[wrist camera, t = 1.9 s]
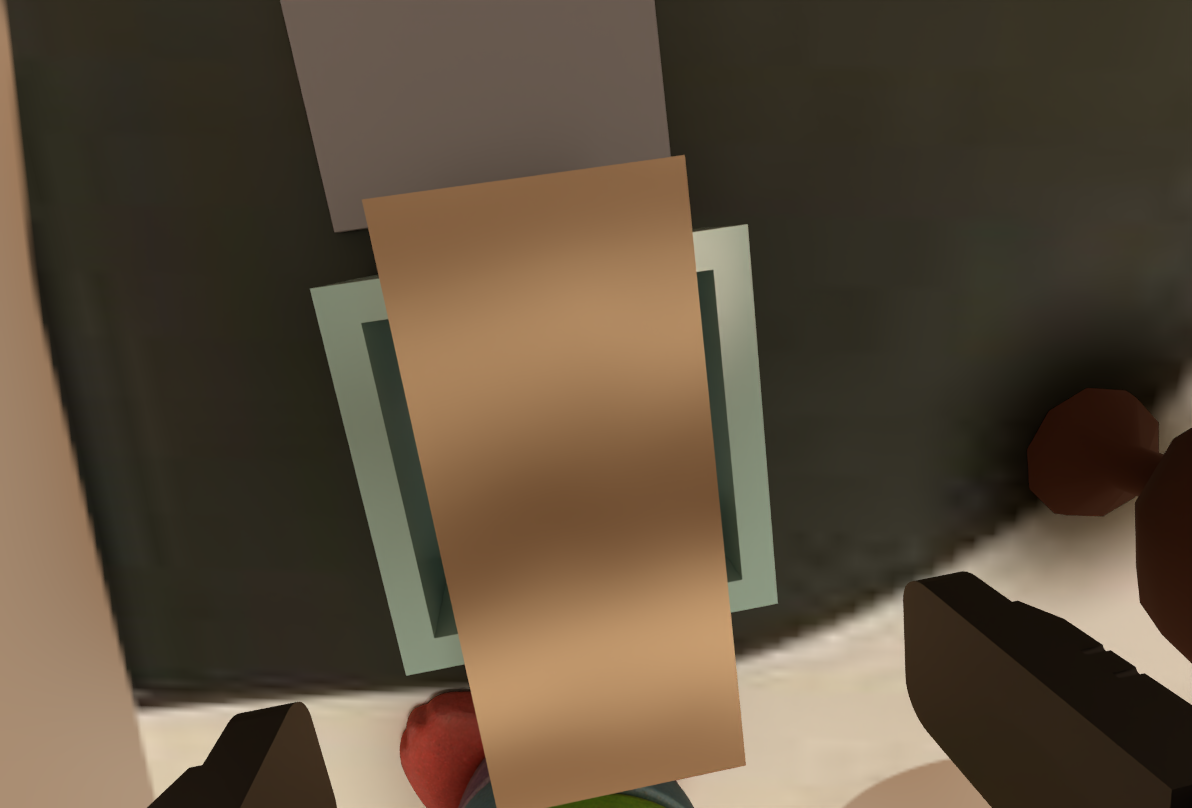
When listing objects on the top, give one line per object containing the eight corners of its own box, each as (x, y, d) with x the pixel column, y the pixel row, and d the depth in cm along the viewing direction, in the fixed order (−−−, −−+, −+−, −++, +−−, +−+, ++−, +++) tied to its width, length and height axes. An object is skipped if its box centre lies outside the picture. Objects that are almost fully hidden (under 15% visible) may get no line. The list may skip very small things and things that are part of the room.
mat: (236, -209, 18) (227, -223, 18) (623, -243, 19) (627, -258, 18) (339, 232, 21) (334, 232, 21) (669, 185, 22) (673, 184, 22)
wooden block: (400, 210, 16) (361, 199, 12) (645, 176, 16) (684, 155, 12) (502, 702, 19) (499, 817, 15) (701, 662, 20) (745, 765, 16)
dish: (365, 276, 22) (309, 289, 16) (688, 229, 23) (747, 224, 17) (432, 573, 24) (406, 675, 19) (718, 520, 25) (777, 603, 19)
